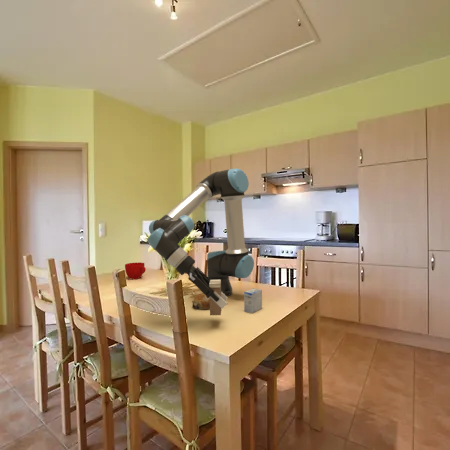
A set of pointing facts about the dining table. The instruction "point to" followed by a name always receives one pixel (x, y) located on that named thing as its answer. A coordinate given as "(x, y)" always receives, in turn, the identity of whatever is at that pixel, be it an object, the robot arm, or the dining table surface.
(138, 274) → the ceramic cup
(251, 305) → the medicine box
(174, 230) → the robot arm
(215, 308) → the walnut block
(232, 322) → the dining table surface
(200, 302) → the bread roll
